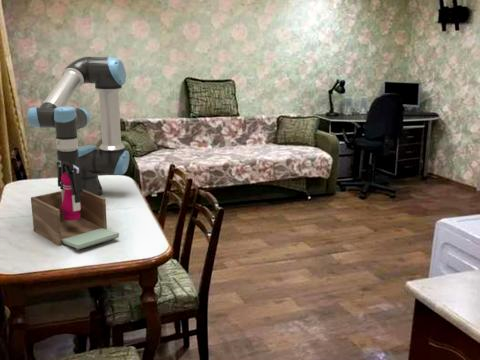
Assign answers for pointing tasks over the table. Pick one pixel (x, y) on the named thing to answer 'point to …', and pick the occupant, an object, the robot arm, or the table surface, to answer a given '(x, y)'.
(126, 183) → the table surface
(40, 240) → the table surface
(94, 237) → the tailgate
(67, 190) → the pepper mill
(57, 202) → the crate
